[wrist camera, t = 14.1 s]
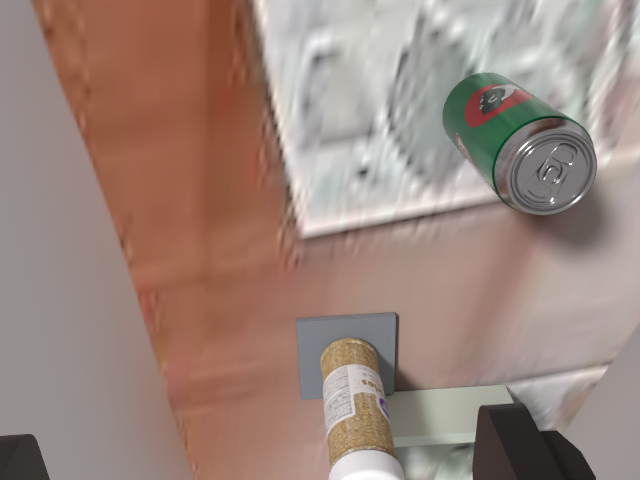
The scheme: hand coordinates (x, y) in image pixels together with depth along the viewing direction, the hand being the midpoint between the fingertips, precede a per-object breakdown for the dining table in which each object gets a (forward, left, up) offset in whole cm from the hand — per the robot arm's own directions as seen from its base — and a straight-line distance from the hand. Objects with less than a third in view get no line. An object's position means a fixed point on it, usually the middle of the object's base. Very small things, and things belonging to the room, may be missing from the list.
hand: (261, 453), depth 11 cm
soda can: (-13, +2, -30) cm, 33 cm away
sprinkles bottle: (-4, +21, -30) cm, 37 cm away
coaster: (-4, +21, -30) cm, 37 cm away
